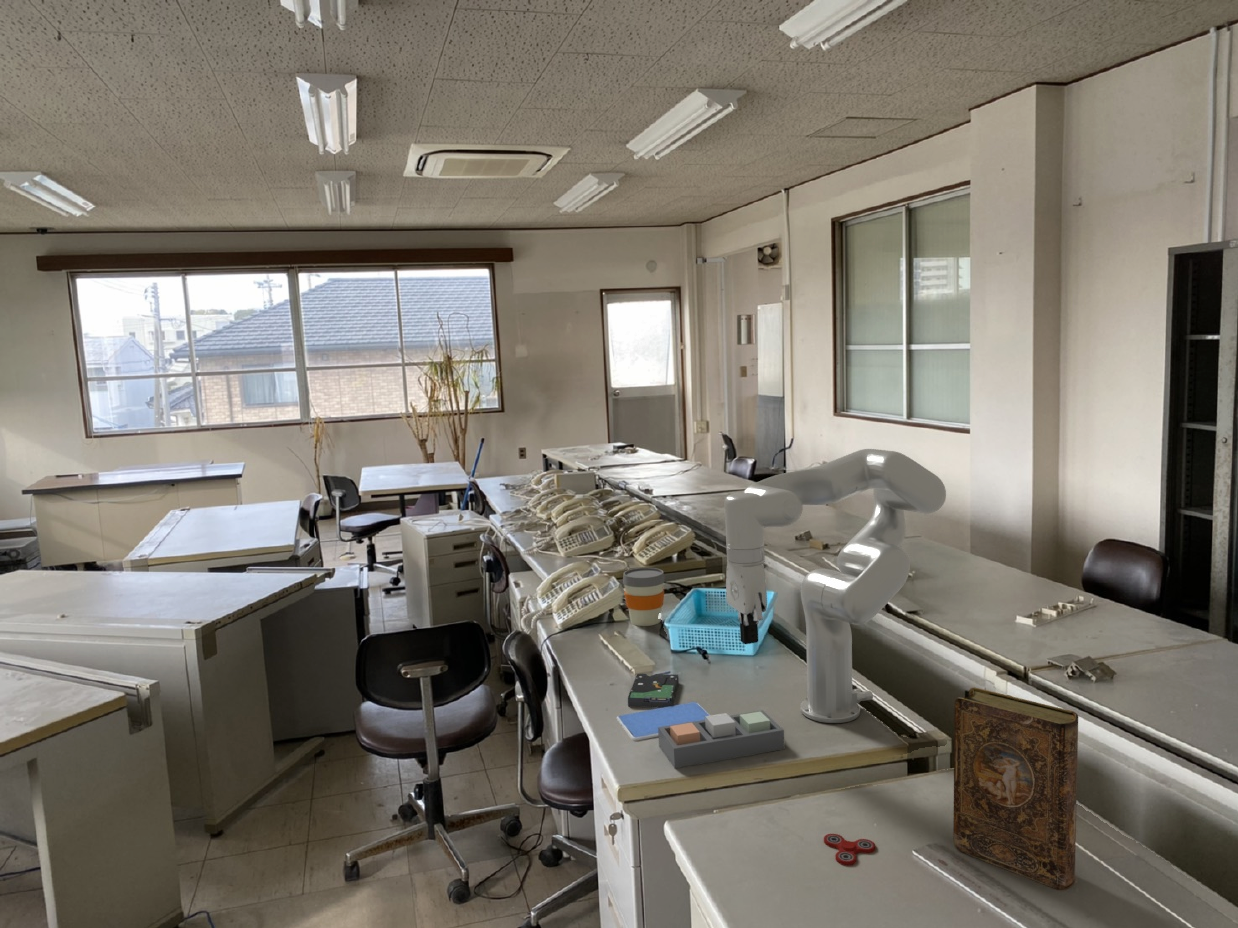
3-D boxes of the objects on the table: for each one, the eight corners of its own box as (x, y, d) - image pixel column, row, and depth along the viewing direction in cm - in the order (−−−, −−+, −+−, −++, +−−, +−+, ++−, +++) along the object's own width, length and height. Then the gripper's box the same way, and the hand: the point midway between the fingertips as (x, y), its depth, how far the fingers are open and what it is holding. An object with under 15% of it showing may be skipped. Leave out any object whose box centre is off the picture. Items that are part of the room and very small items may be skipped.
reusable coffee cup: (663, 613, 259) (661, 566, 257) (668, 626, 247) (666, 576, 245) (623, 616, 259) (621, 568, 257) (626, 629, 246) (623, 579, 244)
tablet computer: (633, 744, 174) (632, 738, 174) (615, 720, 186) (615, 714, 186) (719, 728, 179) (718, 722, 179) (696, 705, 191) (696, 700, 191)
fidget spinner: (820, 840, 136) (820, 832, 136) (864, 835, 137) (864, 827, 137) (840, 869, 129) (840, 861, 128) (885, 863, 129) (885, 855, 129)
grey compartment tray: (763, 728, 177) (762, 710, 176) (784, 749, 167) (783, 729, 167) (658, 745, 171) (658, 727, 171) (674, 768, 162) (673, 748, 161)
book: (1079, 875, 124) (1083, 713, 121) (1066, 893, 120) (1070, 726, 117) (968, 834, 135) (969, 685, 132) (953, 849, 131) (953, 696, 128)
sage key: (760, 722, 174) (760, 711, 173) (770, 732, 169) (769, 720, 169) (740, 726, 172) (739, 714, 172) (749, 735, 168) (748, 723, 168)
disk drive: (636, 684, 206) (627, 708, 191) (636, 673, 205) (627, 697, 191) (679, 685, 204) (673, 709, 190) (678, 673, 204) (672, 697, 189)
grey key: (726, 724, 172) (726, 712, 171) (735, 733, 167) (735, 721, 167) (705, 728, 170) (705, 716, 170) (713, 737, 166) (713, 725, 166)
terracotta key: (692, 734, 170) (691, 722, 169) (700, 744, 165) (699, 731, 165) (670, 737, 169) (670, 726, 168) (677, 747, 164) (677, 735, 164)
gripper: (713, 549, 175) (717, 634, 177) (745, 565, 161) (749, 657, 163) (746, 544, 177) (749, 628, 180) (780, 560, 163) (783, 650, 165)
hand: (749, 641), depth 171 cm, fingers closed
